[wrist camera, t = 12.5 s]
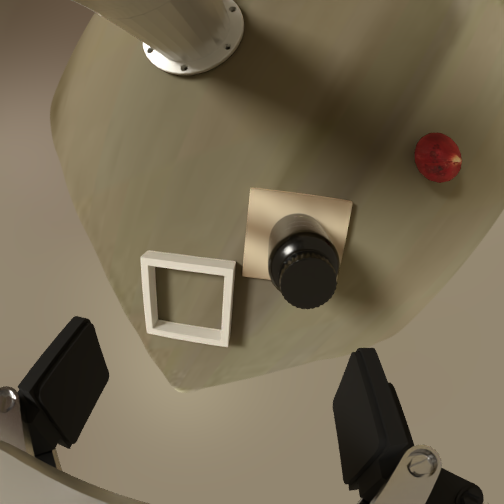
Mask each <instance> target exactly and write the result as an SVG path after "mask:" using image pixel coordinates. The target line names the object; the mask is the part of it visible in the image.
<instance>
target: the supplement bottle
mask: <svg viewBox="0 0 504 504" xmlns="http://www.w3.org/2000/svg"><path fill="white" fill-rule="evenodd" d="M339 269H340V259H339V255H338V252H337V250H336V248H335V246H334V244H333V243H332V241H331V239H330V238H329V236H328V235H327V233H326V231H325V230H324V228H323V227H322V225H321V224H320V223H319V222H318V221H317V220H316V219H315V218H313V217H311V216H309V215H306V214H301V213H295V214H290V215H287V216H285V217H283V218H281V219H280V220H279V221H278V222H277V223H276V224H275V225H274V226H273V228H272V230H271V233H270V236H269V247H268V272H269V276H270V279H271V281H272V283H273V284H274V286H275V287H276V288H277V289H278V290H279V291H280V292H281V293H282V295H283V296H284V298H285V300H287V301H288V303H290V304H291V305H292V306H296V307H297V308H301V309H310V308H312V309H313V308H315V307H319V306H320V305H323V304H324V303H325V302H327V301H328V300H329V299H330V298H331V297H332V295H333V294H334V291H335V289H336V285H337V281H336V280H337V276H338V273H339Z"/></svg>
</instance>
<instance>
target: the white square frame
mask: <svg viewBox="0 0 504 504" xmlns="http://www.w3.org/2000/svg"><path fill="white" fill-rule="evenodd" d="M155 266H156V267H163V268H170V269H177V270H184V271H192V272H199V273H207V274H215V275H222V276H225V278H224V294H223V311H222V329H221V330H218V329H212V328H205V327H199V326H192V325H186V324H180V323H175V322H169V321H164V320H158V308H157V293H156V274H155ZM235 267H236V261H230V260H222V259H213V258H205V257H197V256H189V255H181V254H173V253H165V252H157V251H150V250H148V251H147V252H146V253H144V254H143V255H142V256H141V274H142V288H143V300H144V310H145V320H146V328H147V333H149V334H154V335H159V336H164V337H169V338H175V339H180V340H186V341H191V342H197V343H204V344H210V345H216V346H223V347H228V344H229V339H230V332H231V318H232V305H233V292H234V280H235Z"/></svg>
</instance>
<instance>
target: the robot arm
mask: <svg viewBox="0 0 504 504" xmlns="http://www.w3.org/2000/svg"><path fill="white" fill-rule="evenodd" d="M72 1H75V2H77V3H79V4H81V5H83V6H85V7H87V8H89V9H90V10H92V11H94V12H96V13H97V14H99V15H101V16H102V17H104V18H106V19H107V20H109V21H111V22H112V23H114V24H115V25H117V26H119V27H120V28H122V29H123V30H125V31H127V32H128V33H130V34H131V35H133V36H134V37H136V38H137V39H139V40H140V41H142V43H143V49H144V52H145V54H146V56H147V58H148V59H149V61H150V62H151V63H152V64H154V65H155V66H156V67H157V68H159V69H161V70H163V71H165V72H167V73H170V74H175V75H194V74H199V73H203V72H206V71H209V70H211V69H213V68H215V67H217V66H218V65H220V64H221V63H223V62H224V61H226V60H227V59H228V58H229V57H230V56H231V55H232V54H233V53H234V51H235V50H236V49H237V47H238V46H239V44H240V42H241V40H242V37H243V33H244V20H243V15H242V13H241V10H240V8H239V7H238V5H237V4H236V3H235V2H234V1H233V0H72ZM232 11H235V12H232ZM228 47H229V48H230V49H229V50H226V49H227V48H228ZM152 51H153V52H152ZM151 52H152V53H151ZM185 68H188V69H187V70H186V71H185ZM108 379H109V372H108V369H107V366H106V363H105V360H104V357H103V354H102V351H101V348H100V345H99V342H98V339H97V335H96V332H95V328H94V325H93V324H91V322H90V320H89V319H86V318H81V317H78V316H75V317H73V318H72V319H71V321H70V322H69V323H68V324H67V325H66V327H65V328H64V329H63V330H62V331H61V332H60V333H59V335H58V336H57V337H56V338H55V340H54V341H53V342H52V343H51V345H50V346H49V347H48V348H47V349H46V351H45V352H44V353H43V354H42V355H41V357H40V358H39V359H38V361H37V362H36V363H35V364H34V366H33V367H32V368H31V370H30V371H29V372H28V374H27V375H26V376H25V378H24V379H23V380H22V381H21V383H20V384H19V386H18V388H19V389H20V390H19V391H18V392H17V391H16V390H15V389H14V388H12V387H7V386H6V387H1V388H0V504H149V503H145V502H141V501H138V500H135V499H132V498H128V497H125V496H122V495H119V494H116V493H113V492H110V491H108V490H105V489H102V488H100V487H97V486H95V485H92V484H89V483H87V482H85V481H82V480H80V479H78V478H75V477H73V476H71V475H69V474H67V473H65V472H63V471H62V469H61V465H60V462H59V459H58V455H57V451H56V448H55V447H56V445H57V444H60V445H62V446H64V447H66V448H69V449H70V447H71V445H72V444H74V443H76V441H77V439H78V437H79V435H80V433H81V431H82V429H83V427H84V425H85V423H86V422H87V419H88V417H89V416H90V414H91V412H92V410H93V408H94V406H95V404H96V402H97V400H98V398H99V396H100V394H101V393H102V391H103V389H104V387H105V385H106V384H107V382H108ZM333 412H334V418H335V424H336V430H337V437H338V443H339V451H340V458H341V465H342V473H343V480H344V483H345V484H349V490H357V489H359V494H360V497H361V499H360V500H359V501H358V503H357V504H483V493H482V490H481V489H480V488H479V487H478V486H477V485H475V484H474V483H471V482H469V481H467V480H465V479H463V478H461V477H459V476H457V475H455V474H453V473H451V472H449V471H447V470H445V469H443V468H441V466H442V463H441V458H440V456H439V454H438V453H437V451H436V450H435V449H433V448H431V447H429V446H426V445H416V446H414V443H413V440H412V437H411V434H410V431H409V428H408V425H407V422H406V419H405V416H404V413H403V410H402V407H401V404H400V402H399V399H398V397H397V394H396V391H395V388H394V386H393V385H392V384H391V383H388V381H387V379H386V376H385V374H384V371H383V368H382V365H381V363H380V360H379V358H378V355H377V353H376V350H375V349H374V348H358V349H357V351H356V352H352V354H351V356H350V359H349V362H348V364H347V367H346V370H345V372H344V375H343V377H342V380H341V383H340V385H339V388H338V390H337V392H336V395H335V397H334V400H333ZM487 504H488V503H487Z"/></svg>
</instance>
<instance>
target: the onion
mask: <svg viewBox="0 0 504 504" xmlns="http://www.w3.org/2000/svg"><path fill="white" fill-rule="evenodd" d="M414 154H415V163H416V165H417V168H418V170H419V172H420V173H421V174H422V175H424V176H425V177H426V178H427V179H428V180H431V181H435V182H439V183H441V182H446V181H450V180H451V179H453V178H454V177H455V176H456V175H457V174H458V172H459V171H460V169H461V164H462V159H461V153H460V151H459V148H458V146H457V145H456V144H455V142H454V141H453V140H452V139H451V138H450V137H448V136H446V135H444V134H442V133H429V134H427V135H425V136H424V137H422V138H421V139H420V140H419V142H418V143H417V145H416V149H415V152H414Z"/></svg>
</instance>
